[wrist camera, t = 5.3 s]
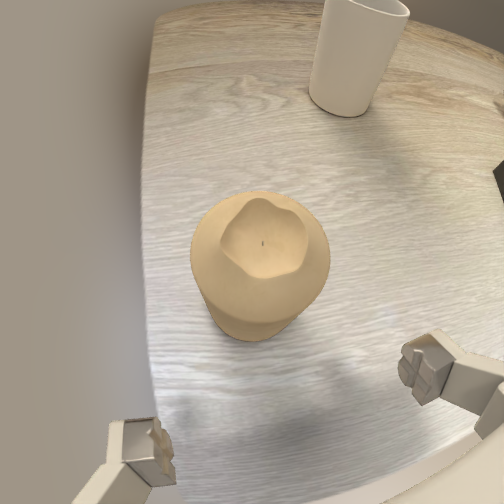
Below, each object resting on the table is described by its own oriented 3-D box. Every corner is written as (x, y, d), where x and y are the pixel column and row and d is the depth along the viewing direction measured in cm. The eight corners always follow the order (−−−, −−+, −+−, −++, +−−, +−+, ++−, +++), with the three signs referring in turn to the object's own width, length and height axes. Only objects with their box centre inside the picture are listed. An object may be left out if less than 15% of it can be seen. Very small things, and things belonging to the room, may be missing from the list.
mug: (374, 125, 27) (421, 25, 15) (307, 113, 26) (335, 0, 15) (359, 68, 30) (387, -16, 19) (302, 57, 30) (320, -32, 19)
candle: (213, 347, 19) (191, 325, 10) (204, 264, 21) (181, 178, 11) (300, 335, 19) (357, 302, 10) (285, 254, 21) (321, 166, 12)
